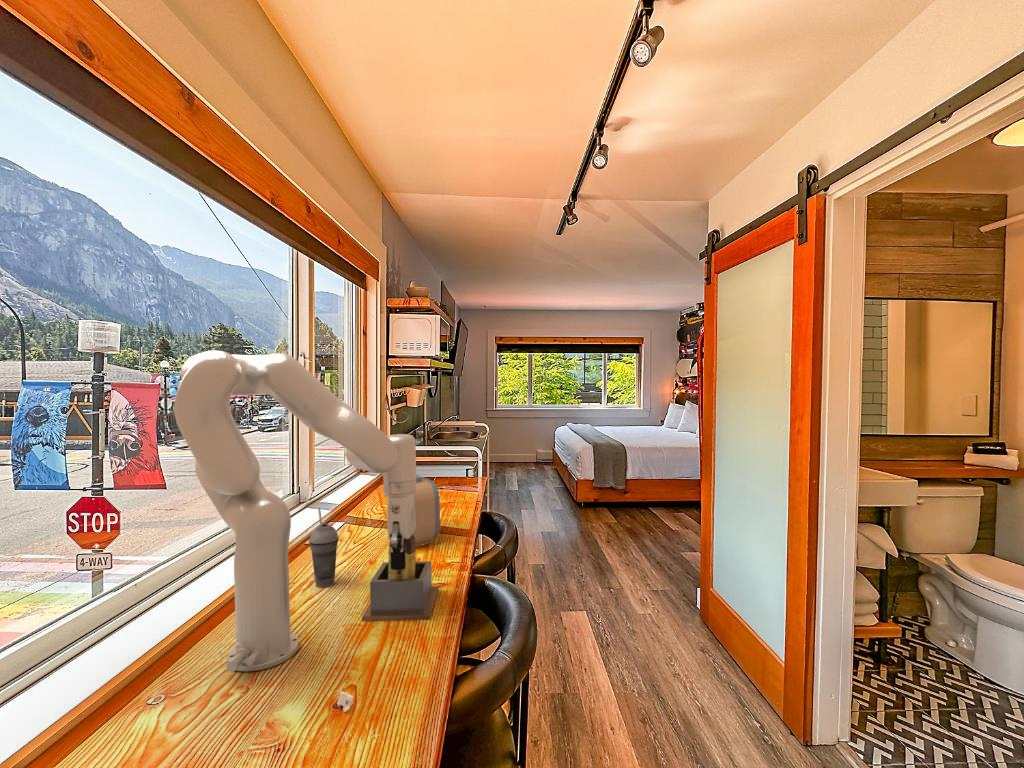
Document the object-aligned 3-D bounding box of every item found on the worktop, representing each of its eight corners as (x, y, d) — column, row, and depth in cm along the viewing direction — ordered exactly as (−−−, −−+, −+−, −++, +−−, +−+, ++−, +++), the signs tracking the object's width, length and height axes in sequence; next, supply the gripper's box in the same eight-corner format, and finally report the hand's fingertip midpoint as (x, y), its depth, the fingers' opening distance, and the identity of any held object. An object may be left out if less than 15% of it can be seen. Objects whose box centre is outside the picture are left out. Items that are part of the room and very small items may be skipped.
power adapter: (334, 711, 82) (334, 692, 82) (347, 702, 84) (347, 683, 84) (347, 717, 80) (346, 698, 80) (360, 708, 82) (359, 689, 82)
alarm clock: (441, 546, 160) (439, 478, 160) (413, 552, 155) (411, 482, 154) (415, 530, 177) (413, 469, 177) (388, 535, 172) (387, 472, 171)
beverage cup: (329, 591, 127) (328, 512, 127) (304, 589, 129) (302, 511, 128) (345, 579, 134) (343, 505, 134) (320, 577, 136) (318, 504, 136)
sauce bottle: (383, 595, 119) (381, 510, 119) (405, 586, 123) (403, 505, 123) (399, 603, 114) (397, 515, 114) (421, 594, 119) (420, 510, 119)
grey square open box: (429, 619, 111) (429, 583, 111) (361, 620, 111) (361, 585, 111) (439, 590, 126) (438, 558, 126) (379, 591, 126) (378, 560, 126)
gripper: (408, 495, 110) (410, 577, 110) (422, 479, 127) (423, 550, 127) (374, 496, 110) (376, 578, 110) (392, 480, 127) (393, 550, 127)
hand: (401, 562), depth 119 cm, fingers closed on sauce bottle, 6 cm apart
